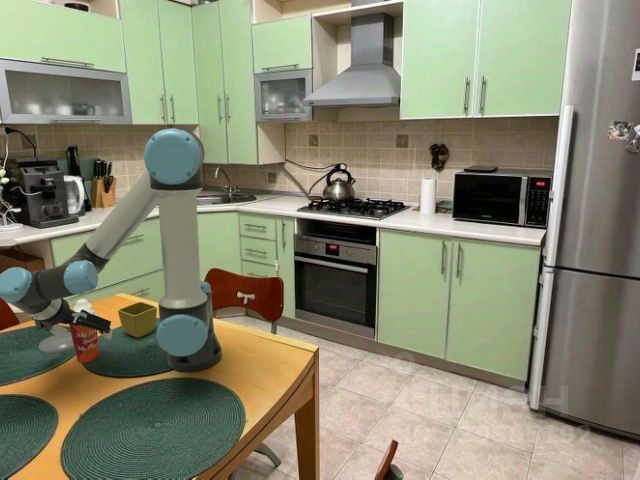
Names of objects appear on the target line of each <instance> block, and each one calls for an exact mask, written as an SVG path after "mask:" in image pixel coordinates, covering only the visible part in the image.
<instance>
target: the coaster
mask: <svg viewBox="0 0 640 480" xmlns="http://www.w3.org/2000/svg"><path fill="white" fill-rule="evenodd" d="M38 349H39V351H40V352H41V353H42V354H47V355H49V354H51V355H52V354H61V353H65V352H68V351H71V350H75V348H74V344H73V340H72V335H71V331H67V334H66V337H65V339H62V338H60V337H58V336H57V335H55V334H53V335H50V336H47V337H46V338H44V339H43V340H41V341H40V342H39V344H38Z"/></svg>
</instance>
